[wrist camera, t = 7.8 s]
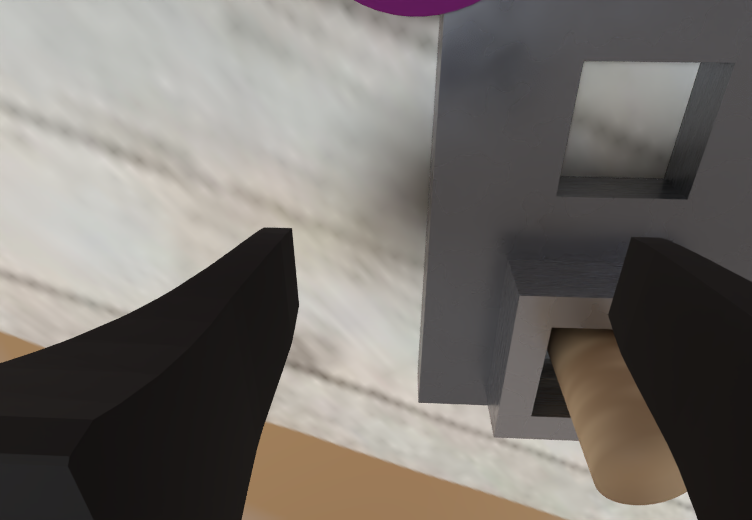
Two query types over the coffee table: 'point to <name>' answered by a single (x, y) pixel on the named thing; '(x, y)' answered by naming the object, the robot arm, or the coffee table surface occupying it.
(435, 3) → the mounting bracket
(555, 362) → the pin
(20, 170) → the coffee table surface
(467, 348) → the mount plate
